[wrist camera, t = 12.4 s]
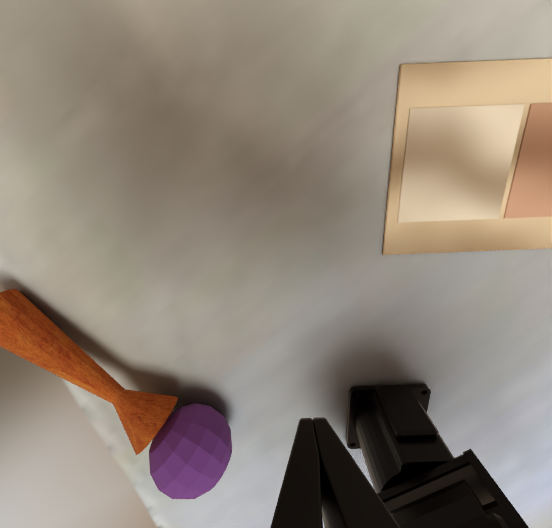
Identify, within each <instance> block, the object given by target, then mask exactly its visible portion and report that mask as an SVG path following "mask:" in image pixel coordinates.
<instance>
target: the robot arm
mask: <svg viewBox="0 0 552 528" xmlns="http://www.w3.org/2000/svg"><path fill="white" fill-rule="evenodd" d="M423 390H424V391H423ZM355 393H357V394H355ZM430 393H431V392H430V389H429V388H428V386H427V385H425V384H410V385H384V386H358V387H352V388H351V389H350V391H349V403H348V419H347V434H346V442H347V446H348V447H349V448H350V449H360V448H361V450H362V453H363V456H364V459H365V462H366V465H367V468H368V471H369V475H370V478H371V481H372V484H373V487H374V489H373V487H372V486H371V484H370V483H369V481H368V480H367V478H366V477H365V475H364V474H363V473H362V471H361V470H360V468H359V467H358V465H357V464H356V462H355V461H354V459H353V458H352V456H351V455H350V453H349V452H348V451H347V449H346V448H345V446H344V445H343V443H342V442H341V440H340V439H339V437H338V436H337V434H336V433H335V431H334V430H333V429H332V427H331V426H330V424H329V423H328V421H327V420H326V419H325V418H314V419H313V420H312V419H311V418H301V419H300V421H299V424H298V428H297V432H296V435H295V439H294V443H293V446H292V450H291V454H290V457H289V461H288V465H287V469H286V472H285V476H284V480H283V483H282V487H281V491H280V494H279V498H278V502H277V506H276V509H275V513H274V517H273V520H272V524H271V528H323V522H322V516H323V521H324V526H325V528H529V527H528V526H527V525H526V523H525V522H524V520H523V519H522V518H521V516H520V515H519V514H518V512H517V511H516V510H515V508H514V507H513V505H512V504H511V503H510V501H509V500H508V499H507V497H506V496H505V495H504V493H503V492H502V491H501V489H500V488H499V487H498V485H497V484H496V482H495V481H494V480H493V478H492V477H491V476H490V474H489V473H488V472H487V470H486V469H485V468H484V466H483V465H482V464H481V462H480V461H479V459H478V458H477V457H476V455H475V454H474V453H473V451H472V450H471V449H469V450H467V451H465V452H463V455H461V456H458V457H456V458H454V457H453V455H452V454H451V452H450V451H449V449H448V448H447V446H446V444H445V443H444V441H443V440H442V438H441V437H440V435H439V433H438V430H437V428H436V427H435V425H434V424H433V422H432V421H431V419H430V418H429V416H428V414H427V409H428V403H429V398H430Z"/></svg>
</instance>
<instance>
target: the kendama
mask: <svg viewBox="0 0 552 528" xmlns="http://www.w3.org/2000/svg"><path fill="white" fill-rule="evenodd" d="M0 346H1V347H3V348H5V349H7V350H9V351H10V352H12V353H14V354H16V355H18V356H20V357H22V358H24V359H26V360H28V361H30V362H32V363H34V364H36V365H38V366H40V367H42V368H44V369H46V370H48V371H50V372H52V373H54V374H56V375H58V376H59V377H61V378H63V379H65V380H67V381H69V382H71V383H73V384H75V385H77V386H79V387H81V388H83V389H85V390H87V391H89V392H91V393H93V394H95V395H97V396H99V397H101V398H103V399H105V400H107V401H109V402H111V403H112V404H113V405H114V407H115V409H116V411H117V413H118V416H119V418H120V420H121V422H122V424H123V427H124V429H125V431H126V433H127V435H128V438H129V440H130V442H131V444H132V446H133V449H134V451H135V453H136V455H137V454H139V453H140V452H142V451H143V450H144V449H145V448H146V447H147V445H148V444H149V443H150V442H151V441H152V439H153V441H152V444H151V447H150V450H149V461H150V474H151V476H152V478H153V480H154V482H155V484H156V486H157V488H158V490H160V491H161V492H163V493H164V494H166V495H167V496H169V497H170V498H172V499H195V498H197V497H199V496H201V495H202V494H204V493H206V492H208V491H210V490H211V489H212V488H213V487H214V486H215V485H216V484H217V482H218V481H219V480H220V479H221V477H222V475H223V473H224V471H225V470H226V468H227V465H228V463H229V460H230V457H231V453H232V442H231V431H230V427H229V425H228V423H227V422H226V420H225V418H224V416H223V415H222V414H220V413H219V412H218V411H216V410H215V409H214V408H212V407H211V406H209V405H204V404H198V403H194V404H190V405H186V406H183V407H180V408H178V409H177V410H175V411H174V412H173V413H172V414H171V412H172V410H173V408H174V406H175V405H176V402H177V399H178V397H175V396H168V395H161V394H154V393H146V392H139V391H132V390H125V389H124V388H123V387H122V386H121V385H120V384H119V383H118V382H116V381H115V380H114V379H113V378H112V377H111V376H110V375H109V374H108V373H107V372H106V371H105V370H104V369H102V368H101V367H100V366H99V365H98V364H97V363H96V362H95V361H94V360H93V359H92V358H91V357H90V356H88V355H87V354H86V353H85V352H84V351H83V350H82V349H81V348H80V347H79V346H78V345H77V344H76V343H74V342H73V341H72V340H71V339H70V338H69V337H68V336H67V335H66V334H65V333H64V332H63V331H62V330H60V329H59V328H58V327H57V326H56V325H55V324H54V323H53V322H52V321H51V320H50V319H49V318H48V317H46V316H45V315H44V314H43V313H42V312H41V311H40V310H39V309H38V308H37V307H36V306H35V305H34V304H32V303H31V302H30V301H29V300H28V299H27V298H26V297H25V296H24V295H23V294H22V293H21V292H20V291H18V290H16V289H11V290H6V291H3V292H1V293H0Z"/></svg>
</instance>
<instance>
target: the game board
mask: <svg viewBox="0 0 552 528" xmlns="http://www.w3.org/2000/svg"><path fill="white" fill-rule="evenodd" d="M543 248H552V58H550V59H525V60H500V61H474V62H449V63H424V64H402V65H400V71H399V82H398V93H397V103H396V114H395V124H394V135H393V146H392V156H391V167H390V177H389V188H388V199H387V209H386V220H385V230H384V241H383V252H382V254H383V255H388V254H414V253H440V252H465V251H491V250H517V249H543Z"/></svg>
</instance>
